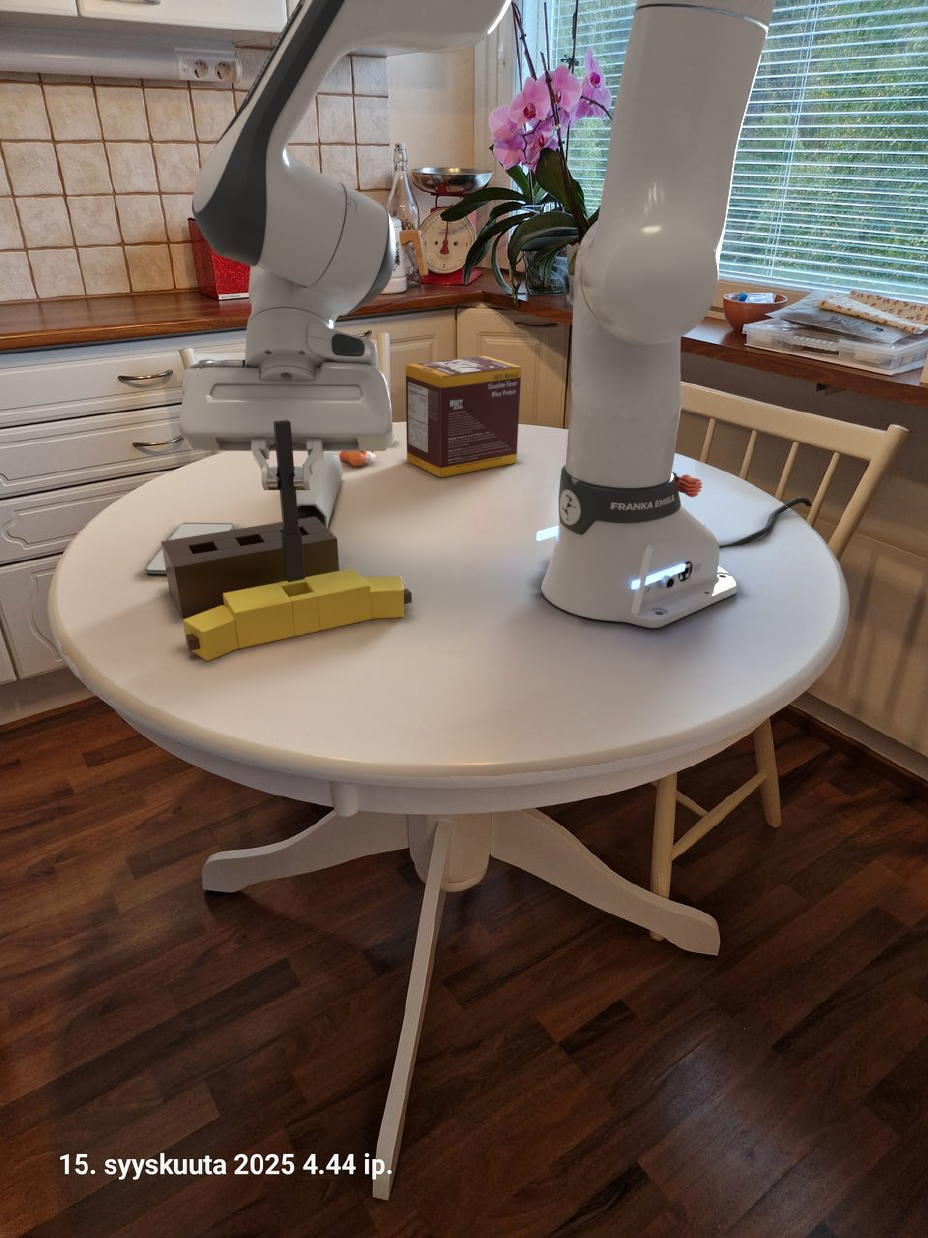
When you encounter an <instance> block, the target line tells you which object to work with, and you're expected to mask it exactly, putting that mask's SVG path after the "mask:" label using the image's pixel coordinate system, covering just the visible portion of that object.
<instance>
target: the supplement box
mask: <svg viewBox="0 0 928 1238" xmlns="http://www.w3.org/2000/svg"><path fill="white" fill-rule="evenodd" d="M404 368H405V415H406V417H405V418H406V419H405V420H406V421H405V422H406V425H405V427H406V461H407V462H409V463H410V464H412V465H414V466H417V467H418V468H420V469H422V470H425V471H426V472H429V474H433V475H434V476H437V477H438V478H445V477H450V476H456V475H461V474H466V473H472V472H477V471H481V470H487V469H491V468H496V467H501V466H502V467H503V466H507V465H511V464H516V463H517V462H518V442H519V441H518V439H519V422H520V421H519V420H520V404H521V403H520V402H521V384H522V382H521V381H522V366H520V365H517V364H513V363H510V362H507V361H503V360H499V359H496V358H493V357H489V356H487V355H477V356H472V357H471V356H470V357H464V358H463V357H462V358H452V359H443V360H435V361H426V362H418V363H410V364H407V365H405V367H404Z"/></svg>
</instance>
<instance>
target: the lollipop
mask: <svg viewBox="0 0 928 1238" xmlns="http://www.w3.org/2000/svg"><path fill="white" fill-rule="evenodd" d="M339 460H340V461H343V462H348V463H349V464H350V465H352V466H354V467H360V466H363V465H364V464H367V465H371V464H373V463H374V462H375V460H376V454H375V453H374V451H340V453H339Z"/></svg>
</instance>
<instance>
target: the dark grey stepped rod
mask: <svg viewBox="0 0 928 1238" xmlns="http://www.w3.org/2000/svg"><path fill="white" fill-rule="evenodd" d="M274 433H275V444H276V451H275V454H276V455H275V456H276V467H278V478H279V487H280V490H279V499H280V510H281V511H280V512H281V522H282V523H283V533H281V537H282V548H283V559H284V570H285V579H286V580H287V581H288V582H293V581H298V580H303V579H305V571H304V558H303V546H302V534H301V533H300V531H299V523H298V511H297V498H296V494H297V490H295V487H294V483H293V477H294V467H295V462H294V451H293V448H292V435H291V422H290V421H288V420H283V421H274Z"/></svg>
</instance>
